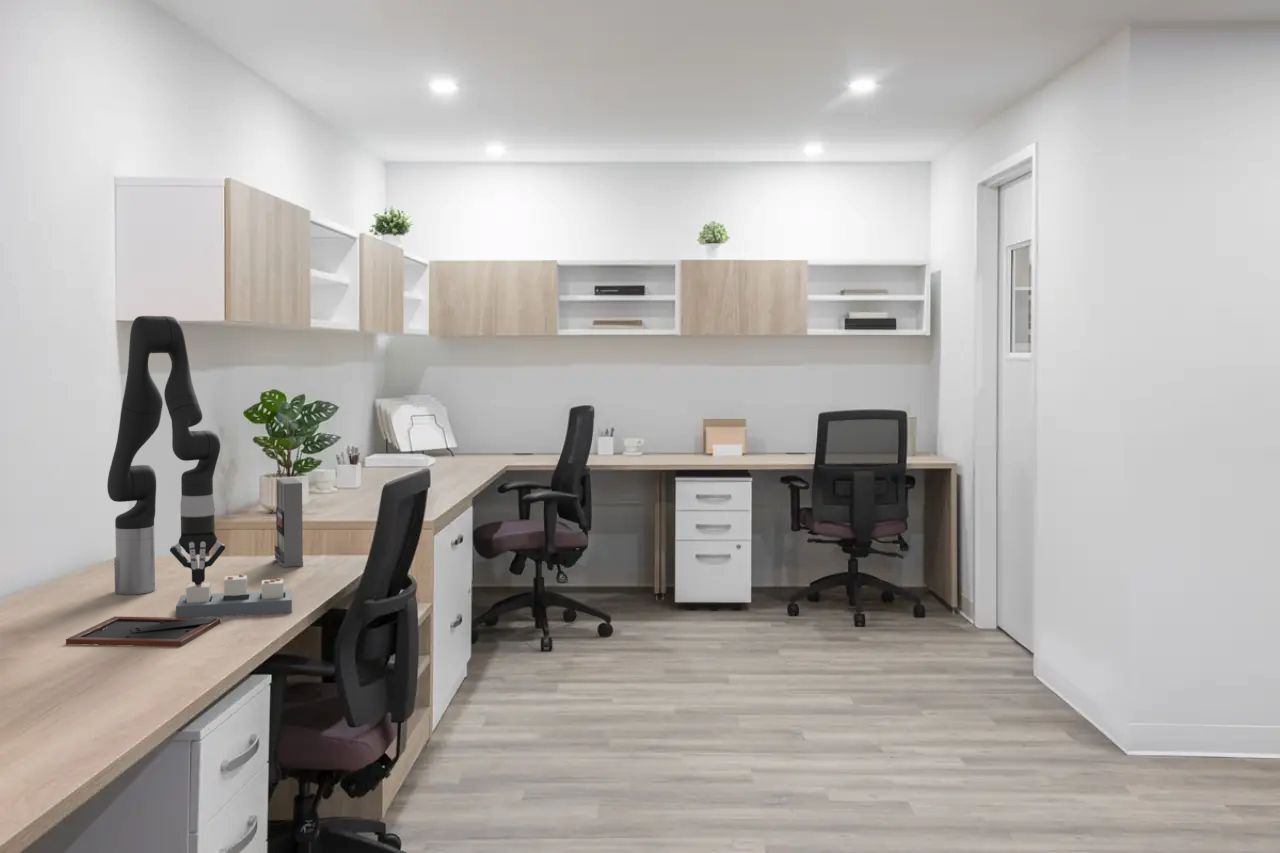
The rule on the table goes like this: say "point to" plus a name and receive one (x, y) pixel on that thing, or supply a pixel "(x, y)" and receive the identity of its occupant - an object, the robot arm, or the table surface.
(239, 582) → the tile two
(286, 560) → the tall grey labeled box
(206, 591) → the tile one
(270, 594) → the tile three
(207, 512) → the robot arm
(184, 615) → the board
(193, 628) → the picture frame
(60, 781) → the table surface
